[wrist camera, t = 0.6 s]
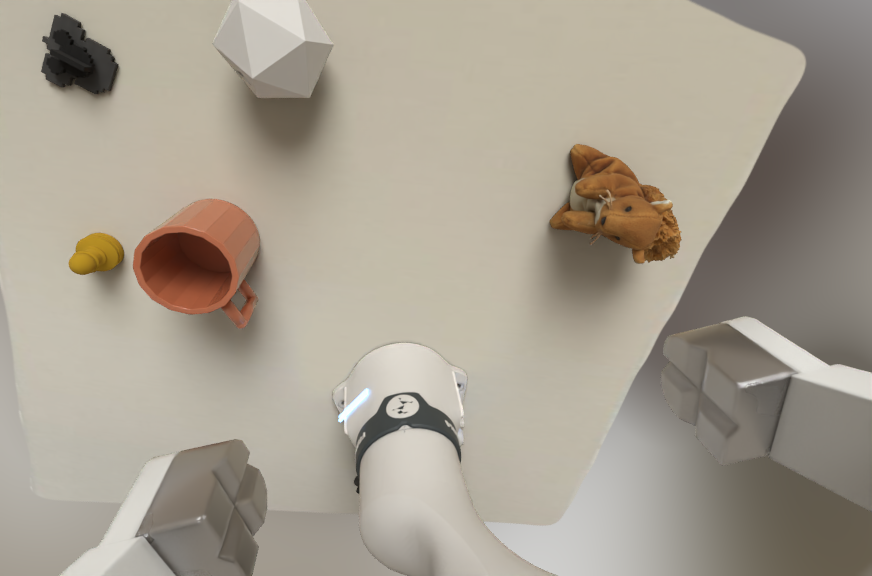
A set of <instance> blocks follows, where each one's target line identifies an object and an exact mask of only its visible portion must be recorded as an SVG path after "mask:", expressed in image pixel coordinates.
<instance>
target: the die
mask: <svg viewBox="0 0 872 576" xmlns="http://www.w3.org/2000/svg"><path fill="white" fill-rule="evenodd" d="M212 44H213V45H214V47H215V48H216V49H217V50H218V51H219V53H220V54H221V55H222V56H223V57H224V58H225V60H226V61H227V62H228V63H229V64H230V66H231V67H232V68H233V69H234V70H235V71H236V73H237V74H238V75H239V76H240V77H241V79H242V80H243V81H244V82H245V83H246V84H247V86H248V87H249V88H250V89H251V90H252V92H253V93H254V94H255V95H256V96H257V98H310V96H311V94H312V92H313V90H314V87H315V85H316V83H317V81H318V78H319V76H320V74H321V72H322V70H323V67H324V65H325V63H326V61H327V58H328V56H329V54H330V52H331V49H332V47H333V43H332V41H331V40H330V38H329V37H328V35H327V33H326V32H325V30H324V29H323V27H322V26H321V24H320V22H319V21H318V19H317V18H316V16H315V14H314V13H313V11H312V10H311V8H310V6H309V5H308V3H307V2H306V0H232V1H231V3H230V5H229V8H228V10H227V12H226V14H225V17H224V19H223V21H222V23H221V25H220V28H219V30H218V32H217V34H216V37H215V39H214V41H213V43H212Z"/></svg>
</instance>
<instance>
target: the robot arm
mask: <svg viewBox="0 0 872 576" xmlns="http://www.w3.org/2000/svg"><path fill="white" fill-rule="evenodd" d="M663 354H664V355H665V356H666V357H667V358H668V359H669V360H670V361H669V362H668V364H667V365H666V366H665V368H664V369H663V370H662V373H661V388H662V391H663V394H664V397H665V400H666V402H667V403H668V405H669V407H670V408H671V410H672V411H673V412H674V413H675V414H676V416H677V417H678V418H679V419H681V420H683V421H685V422H688V423H690V424H692V425H694V426H696V428H695V429H696V438H697V439H698V440H699V441H700V442H701V443H702V445H703V446H704V447H705V448H706V449H707V450H708V451H709V452H710V453H711V454H712V455H713V457H714V458H715V459H716V460H717V461H718V462H719V463H720V464H721V465H722V466H723V465H727V464H732V463H736V462H741V461H746V460H750V459H755V458H759V457H764V456H768V455H769V458H770V459H772V460H774V461H776V462H777V463H779V464H782V465H783V466H785V467H787V468H789V469H791V470H793V471H795V472H796V473H798V474H800V475H802V476H804V477H806V478H808V479H810V480H812V481H814V482H816V483H817V484H819V485H821V486H823V487H825V488H827V489H829V490H831V491H833V492H835V493H836V494H838V495H840V496H842V497H844V498H846V499H848V500H850V501H852V502H853V503H856V504H857V505H859V506H861V507H863V508H865V509H867V510H869V511H871V512H872V373H870V372H866V371H863V370H859V369H855V368H851V367H847V366H844V365H840V364H836V365H832V366H829V365H827V364H826V363H824V362H822V361H821V360H819V359H818V358H816V357H814V356H813V355H811V354H810V353H808V352H807V351H805V350H804V349H802V348H800V347H799V346H797V345H796V344H794V343H792V342H791V341H789V340H788V339H786V338H785V337H783V336H781V335H780V334H778V333H777V332H775V331H773V330H772V329H770V328H769V327H767V326H766V325H764V324H762V323H761V322H759V321H758V320H756V319H754V318H750V317H745V316H744V317H740V318H736V319H733V320H729V321H725V322H721V323H719V324H715V325H711V326H707V327H703V328H699V329H694V330H691V331H686V332H682V333H678V334H675V335H670V336H668V337H667V339H666V341H665V343H664V350H663ZM457 384H459V385H458V386H457ZM466 385H467V374H466V372H465V371H464V370H462V369H460V368H457V367H455V366H452V365H450V364H448V363H447V362H446V361H445V360H444V359H443V358H442V357H441V356H440V355H439V354H438V353H436V352H435V351H433V350H432V349H430V348H428V347H425V346H422V345H419V344H414V343H395V344H389V345H386V346H382V347H380V348H377V349H375V350H373V351H372V352H370V353H368V354H367V355H366V356H364V357H363V358H362V359H361V360H360V361H359V362H358V363H357V365H356V366H355V367H354V369H353V371H352V373H351V374H350V376H349V377H348V379H347V380H345V381H344V382H343V383H341V384H340V385H338V386H337V387H336V388H335V389H334V391H333V401H334V403H335V405H336V407H337V409H338V411H339V413H340V415H339V422H341V421H342V420H343V421H344V431H345V434H346V435H348V436H349V439H350V441H351V442H352V444H353V446H354V447H355V449H356V450H355V463H356V472H357V475H358V476H357V477H356V478H355V480H354V484H355V485H356V486H358V488H357V491H356V492H357V493H358V494H359V529H360V534H361V537H362V540H363V542H364V544H365V546H366V548H367V549H368V551H369V552H370V553H371V554H372V555H373V556H374V557H375V558H376V559H377V560H378V561H379V562H380V563H382V564H383V565H385V566H386V567H387V568H389V569H391V570H393V571H396V572H398V573H401V574H404V575H407V576H557V575H554V574H552V573H549V572H547V571H545V570H542V569H541V568H538V567H536V566H534V565H532V564H531V563H529V562H527V561H526V560H524V559H522V558H521V557H519V556H518V555H517V554H515V553H514V552H512V551H511V550H510V549H508V547H506V546H505V545H504V544H503V543H501V541H500V540H499V539H498V538H497V537H496V536H494V534H493V533H492V532H491V531H490V530H489V529H488V528H487V526H486V525H485V524H484V522H483V521H482V520H481V518H480V517H479V515H478V513H477V512H476V510H475V508H474V505H473V503H472V500H471V497H470V495H469V492H468V489H467V486H466V483H465V480H464V476H463V473H462V469H461V465H460V462H461V449H460V447H461V446H462V445H463V443H464V435H463V430H462V429H461V428H464V418H463V408H462V405H463V400H464V395H465V390H466ZM342 401H344V402H342ZM249 454H250V452H249V451H248V449H247V447H246V446H245V444H244V443H243V441H242V440H237V439H234V440H230V441H225V442H220V443H216V444H211V445H206V446H202V447H197V448H192V449H188V450H183V451H181V452H177V453H172V454H167V455H162V456H158V457H154V458H152V459H151V460H149V461H148V462H147V463H145V465H144V466H143V468H142V470H141V472H140V474H139V475H138V477H137V479H136V481H135V482H134V484H133V486H132V488H131V489H130V491H129V493H128V495H127V497H126V498H125V500H124V502H123V504H122V505H121V508H120V509H119V511H118V513H117V514H116V516H115V518H114V520H113V522H112V523H111V525H110V527H109V529H108V530H107V532H106V534H105V536H104V538H103V539H102V541H101V543H100V544H99V546H98V547H95V548H91V549H88V550H87V551H86V552H85V553H83V554H82V555H81V556H80V557H79V558H78V559H77V560H76V561H74V563H72V564H71V565H70V566H69V567H68V568H67V569H66V570H65V571H63V572H62V573H61V574H60V575H59V576H252V574H253V570H254V566H255V561H256V557H257V553H258V548H259V546H258V545H257V543H256V541H255V540H254V538H253V536H254V535H255V533H256V532H257V531H258V530H259V528H260V527H261V526H262V524H263V523H264V520H265V516H266V511H267V489H266V485H265V481H264V478H263V476H262V474H261V472H260V470H259V469H257V468H255V467H253V466H251V465H249V464H247V461H248V458H249Z"/></svg>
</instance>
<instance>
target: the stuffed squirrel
mask: <svg viewBox="0 0 872 576" xmlns="http://www.w3.org/2000/svg"><path fill="white" fill-rule="evenodd" d="M570 153H571V159H572V163H573V167H574V171H575V174H576V177H577V179H578V180H577V181H575V182H574V184H573V187H572V189H571V194H570V202H568V203H567V204H565V205H564V206H563V207H562V208H561V209H560V210H559V211H558V212H557V213H556V214H555V215H554V216H553V217H552V219H551V220H550V224H551V227H552V228H554V229H560V230H575V231H578V232H583V233H586V234H594V235H593V236H592V237H591V239H592V238H593V237H595V236H597V238H596V239H595V240H594V241H593V242H592V243H590V245H592V244H593V243H594V242H595V241H596V240H597V239H598V238H599V237H600V236H601V235H603V236H605V237H607V238H608V239H610V240H611V241H613V242H615V243H617V244H620V245H622V246H625V247H628V248H631V249H632V254H633V259H634V262H635V263H637V264H640V263H644V262H645V261H646V260H647V261H648V263H649V262H650V261H653V260H655V261H659V260H660V261H662V260H665V259H664V258H666V257H668V256H670V259H671V258H674V256H673V255H674V254H675V255H676V253H678V252H677V251H678V250H679V249H678V248H679V247H680V244H679V243H680V240H681V237H680V232H681V231H679V230H678V229H679V227H678V224H677V220H676V219H675V218H676V217H674V215H673V213H672V210H671V208H672V205H673V204H672V202H671V201H669V200H667V199H666V198H664V195H663V194H662V193H661V192H660V191H659V189H657V188H656V187H653V186H650V185H642V184H639V182H638V180H637V178H636V176H635V175H634V173H633V172H632V171H631V170H630V169H629V167H628V166H627V165H626V164H624V163H623V162H622V161H621V160H619V159H618V158H615V157H610V156H607V155H605V154H603V153H601V152H600V151H598V150H596V149H594V148H592V147H589V146H586V145H580V144H576V145H574V146H573V148H572V150H571V151H570Z"/></svg>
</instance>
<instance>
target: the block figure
mask: <svg viewBox="0 0 872 576" xmlns="http://www.w3.org/2000/svg"><path fill="white" fill-rule="evenodd" d="M80 25H81V22H79V21H77V20H75V19H73V18H71V17H70V16H68V15H66V14H64V13H61V17H60V16H58V15H54V20H53V24H52V28H51V32H50V37H49V38H48V37H45V36H43V39H42V41H43V42H45V43H47V44H48V45H47V49H48V50H50V54H47V53H45V58H44V62H43V66H42V70H41V72H42V73H44V74H46V80H48V81H50V82H52V83H54V84H56V85H58V86H60V87H65V84H66V85H71V83H72V80H73V78H74V79H76V80H75V84H76V85H78V86H80V87H82V88H84V89H86V90H88V91H90V92H92V93H94V94H98V92H99V91H100V92H104V91H105V89H106V90H108V91H111V87H112V84H113V81H114V77H115V74H116V70H117V67H118V64H117V63H115V62H113V60H114V57H113V56H112V55H110V49H108V48H107V47H105V46H103V45H101V44H99V43H97V42H95V41H94V40H92V39H90V38H87V39H86V41H84V40H83V38H84V34H85V30H83V29H82V28H80Z"/></svg>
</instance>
